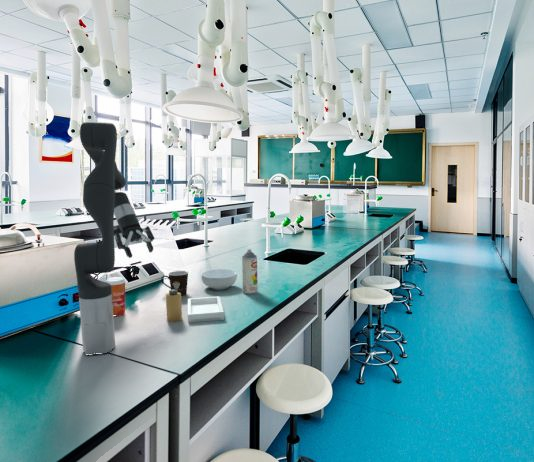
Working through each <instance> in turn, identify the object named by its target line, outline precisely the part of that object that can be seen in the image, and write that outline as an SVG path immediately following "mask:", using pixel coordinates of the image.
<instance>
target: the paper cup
mask: <svg viewBox="0 0 534 462" xmlns="http://www.w3.org/2000/svg"><path fill="white" fill-rule="evenodd" d="M105 282H106V283H109V284H110V285H111V288H112V304H113V315H121V316H123V315H122V314H124V313H125V314H126V283H127V280H126V279H125V277H123V276H115V277H109V278H107V279H106V280H105ZM125 314H124V315H125Z"/></svg>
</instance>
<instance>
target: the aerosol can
mask: <svg viewBox="0 0 534 462" xmlns="http://www.w3.org/2000/svg"><path fill="white" fill-rule="evenodd" d="M241 257H242V258H241V262H242V263H241V268H242V269H241V271H242V274H241V275H242V276H241V277H242V294H244V295H249V296H250V295H255V294H258V291H259V290H258V289H259V288H258V287H259V286H258V257H257V254H255V253H254V252H253V251H252V249H251V248H248V249H247V251H246V252H245V253H244V254H243V255H242V256H241Z"/></svg>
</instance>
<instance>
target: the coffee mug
mask: <svg viewBox="0 0 534 462" xmlns="http://www.w3.org/2000/svg"><path fill="white" fill-rule="evenodd" d="M188 277H189V272H188V271H186V270H176V271H175V270H174V271H171V272H170V271H169V272H168V275H163V276H162V277H161V281H160V282H161V283H162V284H163V285H164V286H166V287H167V288H168V289H169V290H173V289H175V290H177V292H179V293H181V298H182V297H185V296H187V295H188V293H187V291H188V281H189V278H188ZM163 278H167V279H168V280H169V285H170V286H169V285H168V284H166V283H165V281H164V279H163Z"/></svg>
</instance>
